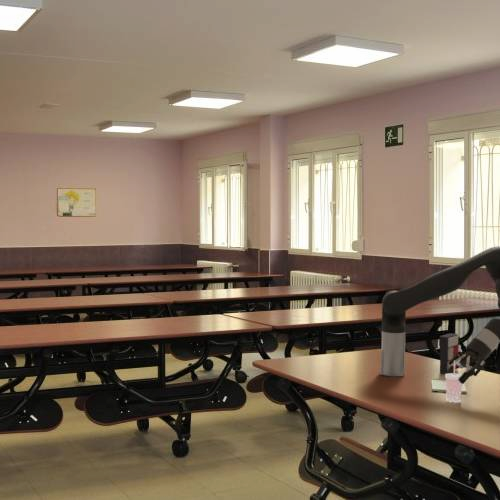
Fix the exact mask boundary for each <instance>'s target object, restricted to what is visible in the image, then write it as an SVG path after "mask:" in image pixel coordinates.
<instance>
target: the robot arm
mask: <svg viewBox="0 0 500 500" xmlns="http://www.w3.org/2000/svg"><path fill="white" fill-rule="evenodd" d="M483 267H485V270H486V272H487V273H488V275H489V276H490V278H491V279H492V280H493V282H494V284H495V293H496V296H497V308H498V309H499V311H500V245H497V246H496V245H495V246H493V247H489V248H487V249H485V250H483V251H480V252H478V253H477V254H475V255H473V256H471V257H470V258H467V259H466V260H464V261H461V262H459V263H457V264H454V265H452V266H449V267H447V268H445V269H442V270H440V271H438V272H435V273H433V274H432V275H429V276H428V277H425V278H424V279H422V280H421V281H420V282H418V283H416V284H414V285H412V286H410V287H408V288H404V289H401V290H390V291H388V292H386V293H385V294H384V295H383V298H382V303H381V304H382V305H381V350H380V374H379V375H380V376H386V377H402V376H403V377H404V375H405V362H406V361H405V360H406V359H405V358H406V328H407V327H406V325H407V324H406V314H407V313H406V311H408V310H410V309H412V308H414V307H416V306H418V305H419V304H422V303H425V302H428V301H431V300H435V299H437V298H440V297H444V296H446V295H448V294H450V293H453V292H455V291H458V290H459V289H460V288H461V287H462V286H463V285H464V284H465V282H466V281H467V279H468V278H469V277H470V276H471V275H472V274H473V273H474V272H476V271H477V270H479V269H480V268H483ZM499 344H500V318H498V317H492V318H491V319H490V320H489V321H488V322H487V323H486V325H485V326H484V327H483V328H482V329H481V330H479V332H478V333H477V334H476V335H474V337H473V338H472V339H471V341H470V342H469V343H468V344H467V345H466V347H465V350H466V351H465V352H464V353H462V351H459V350H458V353H457V354H456V355H455V356H454V357H453V358H452V359H451V360H450V362H449V364H450V368H449V369H448V370H447V371H446V372H445V374H448V373H454V363H453V362H454V361H455V370H456V371H457V370H459V369H464V368H465V371H464V372H463V373H462V374H461V377H460V378H459V379H458V380H459V382H460V383H462V384H465V383H466V381H467V380H468V379H470V377H472V376H474V377H477V376H478V374H479V373H480V372H481V371H482V369H483V368H484V367H485V366H486V364H487V363H486V362H485V361H486V360H487V358H488V357H489V356H490V355H491V353H493V351H495V349H496V348H497V347H498V345H499ZM457 365H458V366H457ZM456 366H457V367H456ZM445 374H443V375H444V376H445Z"/></svg>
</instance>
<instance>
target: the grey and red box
mask: <svg viewBox="0 0 500 500" xmlns="http://www.w3.org/2000/svg"><path fill="white" fill-rule="evenodd" d="M438 345H439V349H440V353H439V355H440V356H439V374H443V375H444V374H445V372H446V371H447V370H448V369H449V368H450V364H449V362H450V360H451V359H452V358H453V357H454V356H455V355H456V354H457V353H458V352H459V334H458V333H451V332H450V333H447V334H443V335H440V336H439V338H438ZM453 363H454V362H453ZM457 366H458V365H457ZM457 366H456V367H457ZM456 371H457V370H455V372H456Z"/></svg>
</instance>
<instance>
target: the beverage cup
mask: <svg viewBox="0 0 500 500" xmlns="http://www.w3.org/2000/svg"><path fill="white" fill-rule="evenodd" d="M461 375H462V374H461V373H456V371H455V361H454V373H448V374H445V375H444V376H445V379H446V392H445V393H446V402H448V401H449V402H448V403H451V402H454V403H455V404H457V403H458V404H459V403H461V401H462V394H461V391H462V383H460V382H459V380H458V379H459V378H460V377H461ZM454 403H453V404H454Z"/></svg>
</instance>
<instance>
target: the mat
mask: <svg viewBox="0 0 500 500" xmlns="http://www.w3.org/2000/svg"><path fill="white" fill-rule="evenodd" d="M432 391H438V392H437V393H446V378H431V392H432ZM462 394H463V395H465V394H466V395H467V388H466V384H465V383H464V384H462V391H461V395H462Z"/></svg>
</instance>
